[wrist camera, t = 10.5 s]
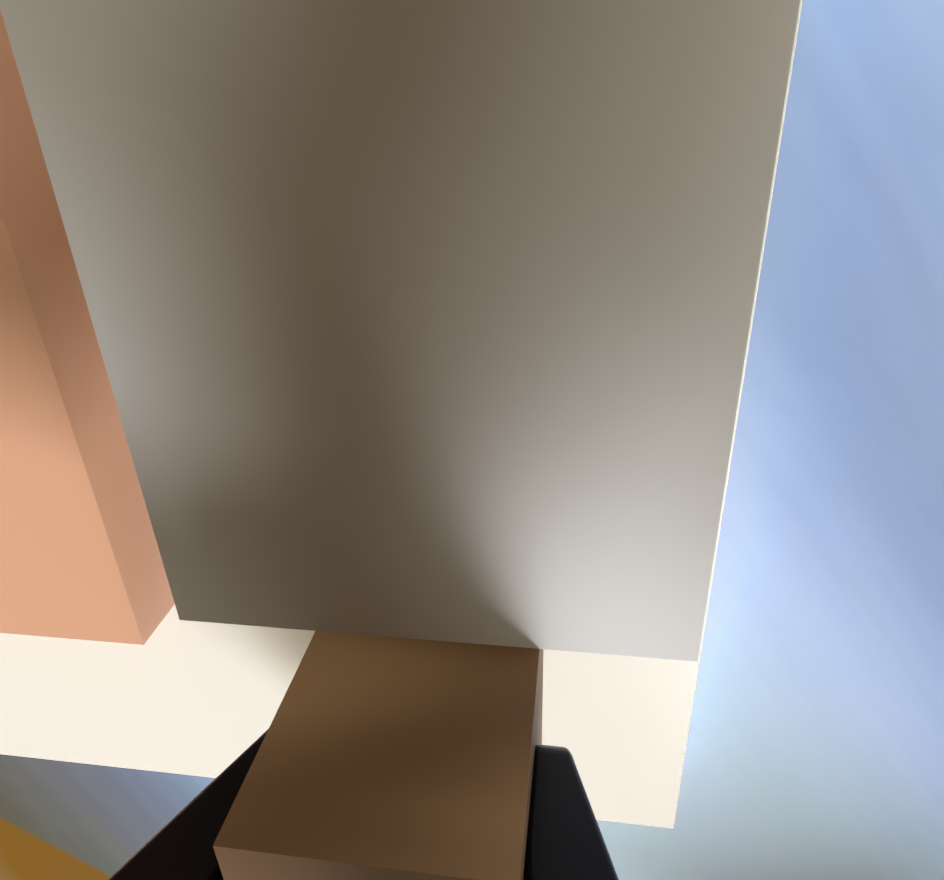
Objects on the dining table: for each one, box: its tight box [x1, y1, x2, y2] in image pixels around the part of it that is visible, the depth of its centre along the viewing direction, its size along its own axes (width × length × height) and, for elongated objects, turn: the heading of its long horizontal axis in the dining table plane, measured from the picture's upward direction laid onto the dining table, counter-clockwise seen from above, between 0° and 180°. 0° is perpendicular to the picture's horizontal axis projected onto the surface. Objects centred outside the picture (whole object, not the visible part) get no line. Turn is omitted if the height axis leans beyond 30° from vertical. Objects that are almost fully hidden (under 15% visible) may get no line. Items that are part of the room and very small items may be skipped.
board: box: [0, 0, 803, 829], centre depth 13 cm, size 19×17×1 cm
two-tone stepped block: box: [0, 0, 800, 880], centre depth 8 cm, size 6×15×4 cm, turn 2°
